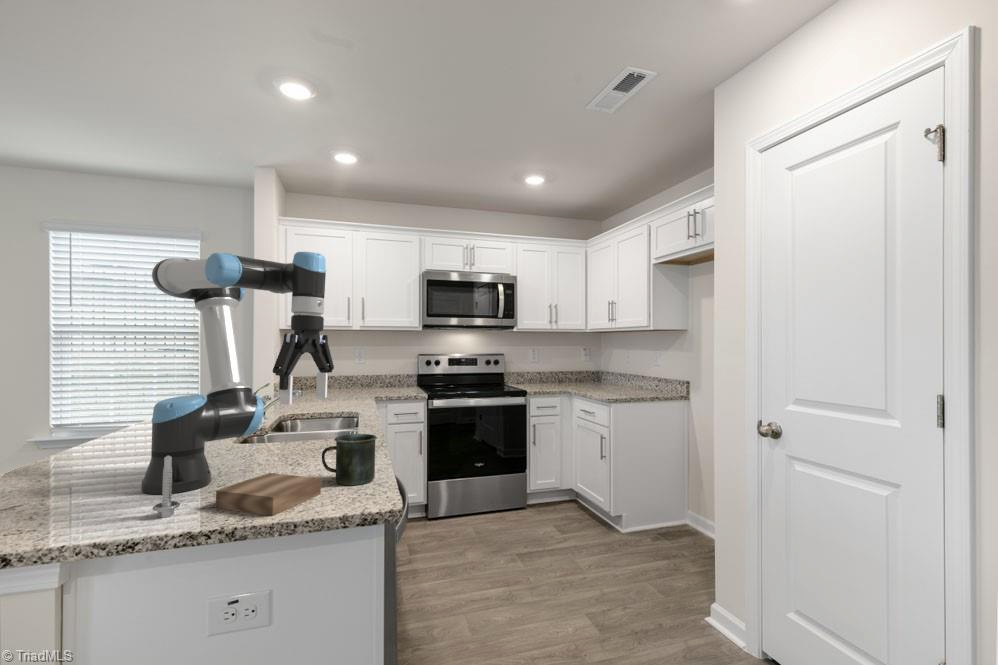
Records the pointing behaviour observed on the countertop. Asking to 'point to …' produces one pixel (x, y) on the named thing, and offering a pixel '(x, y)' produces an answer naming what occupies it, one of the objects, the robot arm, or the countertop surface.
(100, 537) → the countertop surface
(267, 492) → the wooden block
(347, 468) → the mug
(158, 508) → the screw
